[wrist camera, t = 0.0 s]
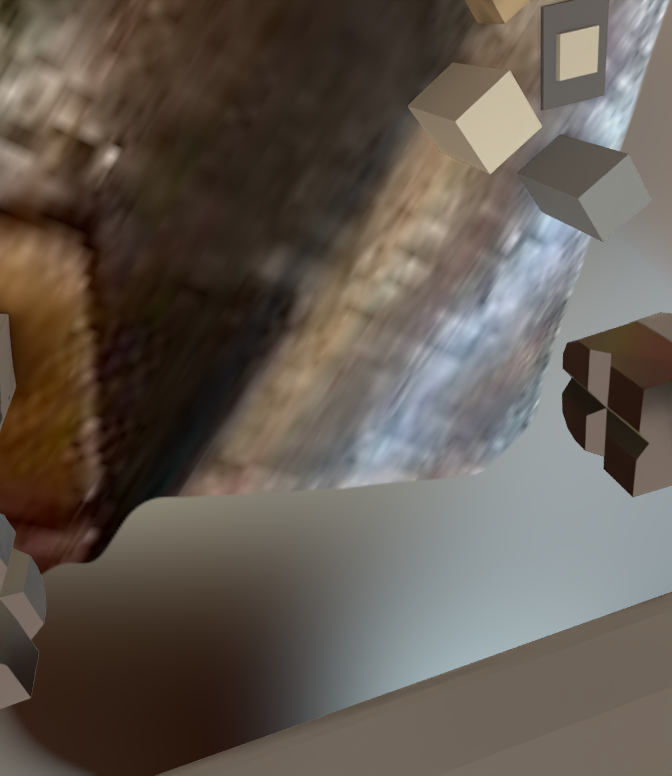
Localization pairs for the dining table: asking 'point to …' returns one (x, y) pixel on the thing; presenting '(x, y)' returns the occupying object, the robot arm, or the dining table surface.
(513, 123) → the cream block
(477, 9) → the oak pedestal
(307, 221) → the dining table surface
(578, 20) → the card
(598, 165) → the grey block
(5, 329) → the supplement box
